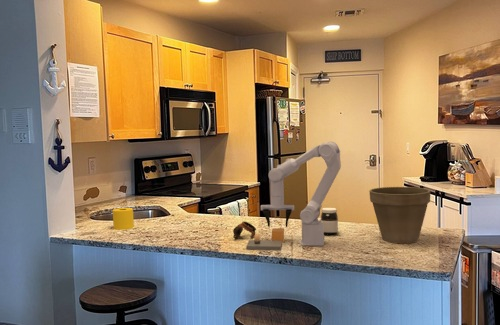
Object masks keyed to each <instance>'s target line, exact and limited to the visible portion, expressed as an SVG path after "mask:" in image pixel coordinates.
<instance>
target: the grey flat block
mask: <svg viewBox="0 0 500 325" xmlns="http://www.w3.org/2000/svg"><path fill="white" fill-rule="evenodd" d="M260 238H261V236H260V234H259V233H258V234H256V233H255V236H254V239H253V240H252V239H250V240H248V242H247V244H246V246H245V250H246V251H281V250H282V247H281V246H283V242H282V240H272V239H270V240H268V239H264V240H263V239H260Z"/></svg>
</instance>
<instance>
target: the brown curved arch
mask: <svg viewBox="0 0 500 325" xmlns="http://www.w3.org/2000/svg"><path fill="white" fill-rule="evenodd" d="M244 230H245V231H247V232H249V233H251V235H250V239H253V238H255V235H256V230H257V228H256V227H255V226H254V225H253V224H252V223H250V222H247V221H245V220H242V221H241V223H238V224H237V226H234V228H233V230H232V232H233V238H234V239H236V238H237V239H238V238H240V237H241V235H242V233H243V231H244Z"/></svg>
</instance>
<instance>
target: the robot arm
mask: <svg viewBox="0 0 500 325" xmlns="http://www.w3.org/2000/svg"><path fill="white" fill-rule="evenodd" d="M313 158H321V159H323V160H324V162H325V165H326V167H327V168H326V170H325V172H324V173H323V176H322V177H321V179H320V181H319V182H318V185H317V187H316V189H315V191H314V193H313V195H312V197H311V199H310V201H309V202H308V203H307V205H306V206H305V207H304V209H302V210H301V211H300V213H299V219H300V220H301V240H300V245H301V246H315V247H316V246H318V247H319V246H322V247H323V246H325V242H324V241H325V235H324V225H323V223H319V221H318V218H320V216H321V210H322V205H323V203H324V201H325V198H326V196H327V195H328V193H329V191H330V189H331V187H332V186H333V183H334V182H335V180H336V178H337V176H338V174H339V172H340V170H341V167H342V162H341V150H340V148H339V146H338V144H337V143H336V142H334V141H328V142H322V143H321V144H319V145H316V146H314V147H313V148H312V147H311V149H309V150H306V152H305V153H303V154H301V155H300V156H298V157H296V158H286V159H285V161H284V162H282V163H281V164H277V165H276V168H274V167H273V168H271V170H269V171H268V179H269V181H270V187H269V188H270V204H261V205H260V211H262V213H263V216H264V217H265V220H266V223H267V228H270V227H271V222H270V221H271V220H270V211H285V228H288V224H289V223H288V222H289V220H290V217H291V215H292V211H295V205H294V204H285V196H284V195H285V192H284V191H285V190H284V189H285V188H284V187H285V186H284V179H285V178H287V177H288V176H291V175H292V174H294V173H295V172H297V171H298V170H299V168H300V166H301V165H303V164H305V163H306V162H308V161H310V160H312V159H313Z"/></svg>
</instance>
